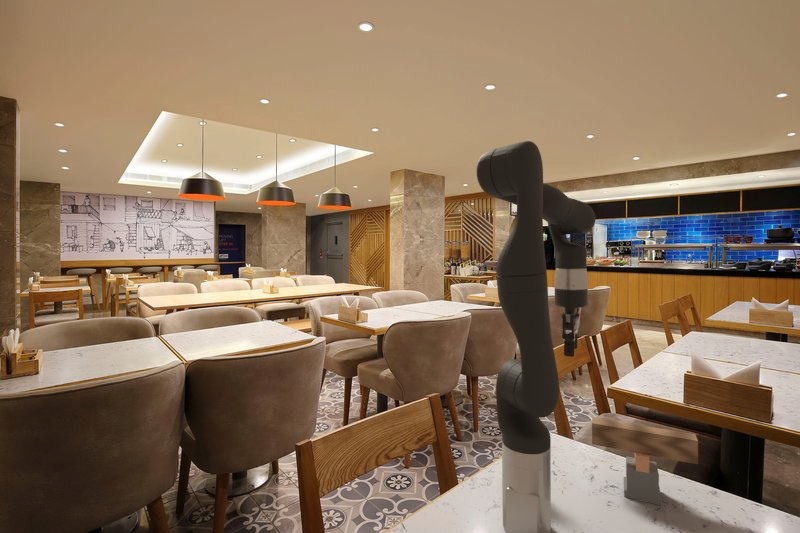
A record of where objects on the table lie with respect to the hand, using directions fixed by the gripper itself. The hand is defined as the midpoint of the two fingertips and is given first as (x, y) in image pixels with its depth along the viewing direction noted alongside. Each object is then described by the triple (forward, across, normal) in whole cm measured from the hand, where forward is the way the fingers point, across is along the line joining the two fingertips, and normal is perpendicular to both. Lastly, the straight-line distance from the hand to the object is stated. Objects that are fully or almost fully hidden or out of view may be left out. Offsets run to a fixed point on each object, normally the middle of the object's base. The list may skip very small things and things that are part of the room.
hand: (571, 352), depth 99 cm
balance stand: (+30, -3, -15) cm, 34 cm away
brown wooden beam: (+20, -3, -15) cm, 25 cm away
